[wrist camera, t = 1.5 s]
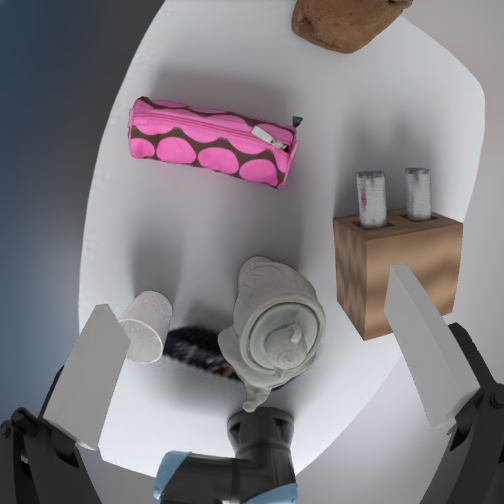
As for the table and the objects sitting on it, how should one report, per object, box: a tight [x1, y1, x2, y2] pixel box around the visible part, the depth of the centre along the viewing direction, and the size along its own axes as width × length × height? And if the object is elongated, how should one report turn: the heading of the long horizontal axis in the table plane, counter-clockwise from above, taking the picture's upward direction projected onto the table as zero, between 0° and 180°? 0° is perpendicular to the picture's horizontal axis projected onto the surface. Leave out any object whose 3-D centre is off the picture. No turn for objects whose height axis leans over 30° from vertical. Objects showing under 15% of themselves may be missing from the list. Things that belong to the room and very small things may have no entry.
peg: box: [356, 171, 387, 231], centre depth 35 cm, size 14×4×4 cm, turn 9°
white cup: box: [118, 291, 172, 364], centre depth 39 cm, size 8×8×10 cm
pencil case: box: [128, 96, 303, 189], centre depth 32 cm, size 21×10×10 cm, turn 78°
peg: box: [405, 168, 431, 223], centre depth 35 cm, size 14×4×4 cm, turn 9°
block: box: [292, 0, 413, 53], centre depth 22 cm, size 11×8×20 cm
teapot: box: [218, 256, 325, 412], centre depth 35 cm, size 16×15×19 cm
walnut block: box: [333, 208, 463, 341], centre depth 37 cm, size 14×16×12 cm
